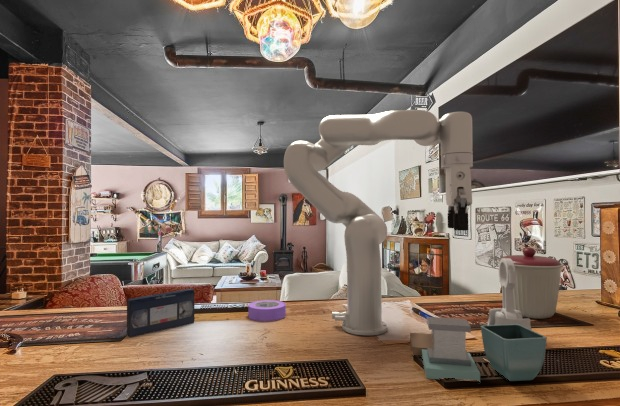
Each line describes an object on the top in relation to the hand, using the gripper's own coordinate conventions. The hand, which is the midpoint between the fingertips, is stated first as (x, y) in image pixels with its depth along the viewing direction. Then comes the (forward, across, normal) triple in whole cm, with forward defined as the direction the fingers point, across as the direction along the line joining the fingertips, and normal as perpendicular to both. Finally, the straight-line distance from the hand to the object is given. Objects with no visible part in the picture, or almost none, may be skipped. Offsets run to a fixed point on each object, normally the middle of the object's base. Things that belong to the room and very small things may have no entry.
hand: (457, 229), depth 94 cm
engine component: (+28, +5, -13) cm, 32 cm away
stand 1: (+28, -7, +7) cm, 30 cm away
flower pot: (+29, -18, -7) cm, 35 cm away
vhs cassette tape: (+29, -6, +80) cm, 85 cm away
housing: (+26, -18, +5) cm, 32 cm away
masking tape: (+29, +12, +55) cm, 63 cm away
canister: (+28, +29, -26) cm, 48 cm away
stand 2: (+28, -18, +5) cm, 34 cm away
